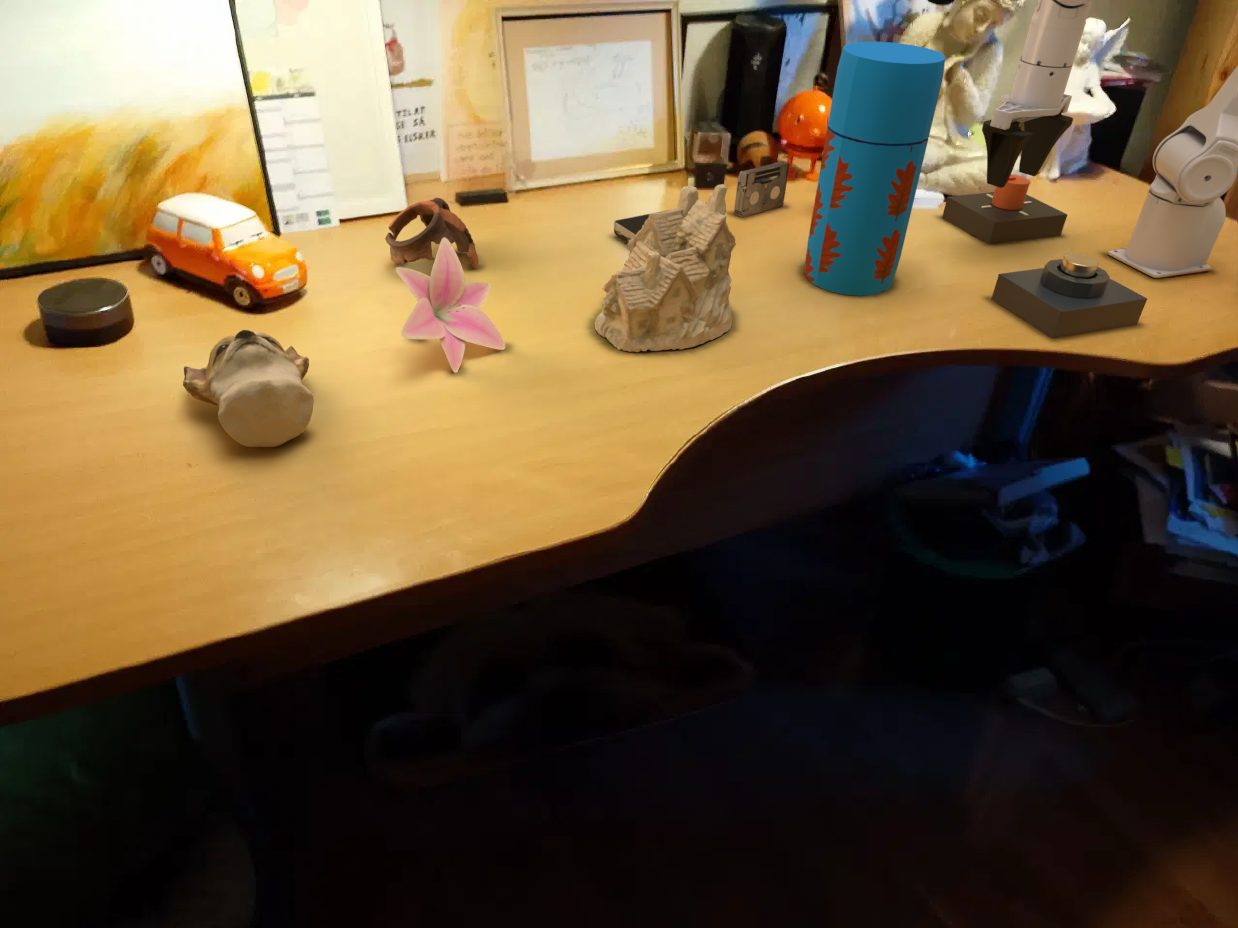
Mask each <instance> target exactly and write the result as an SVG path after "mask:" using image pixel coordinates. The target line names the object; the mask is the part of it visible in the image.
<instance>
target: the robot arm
mask: <svg viewBox="0 0 1238 928" xmlns="http://www.w3.org/2000/svg"><path fill="white" fill-rule="evenodd" d="M1094 1H1095V0H1037V2H1036V5H1035V8H1034V12H1033V14H1032V16H1031V19H1030V23H1029V27H1028V30H1027V34H1026V37H1025V41H1024V44H1023V48H1022V52H1021V55H1020V59H1019V63H1018V67H1017V70H1016V73H1015V77H1014V81H1013V84H1012V87H1011V92H1010V93H1005V94H1002V95H1001V96H1000V99H999V102H1000V103H1002V104H1001V105H1000V106H999V107H997V108H994V109H993V113H992V117H991V119H989V120H985V121H983V124H982V127H981V131H982V135H983V138H984V142H985V148H986V161H987V162H986V184H987V185H990V186H993V187H996V186H997V187H1000V188H1002V187H1004V186H1005V185H1006V183H1007V181H1008V180H1009V177H1010V175H1012V172H1013V170H1014V168H1015V165H1016V162H1017V161H1018V158H1019V156H1020V159H1019V165H1018V173H1020V174H1025V175H1028V176H1030V177H1031V176H1032V177H1036V176H1037V175H1038V173H1039V172H1040V171H1041V169H1042V167H1043V165H1044V163H1045V161H1046V160H1047V158H1048V157H1049V154H1050V153H1051V151H1052V150H1053V148H1054V146H1055V145H1056V143H1057V142H1058V141H1059V139H1060V138H1061V137H1062V136H1063V134H1064V133H1065V132H1066V131H1067V130H1068V129H1069V128H1070V127H1071V126H1072V124H1073V122H1074V118H1073V117H1072V116H1068V115H1066V114H1065V113H1068V110H1069V108H1070V104H1071V102H1072V97H1073V96H1072V95H1071V94H1067V93H1065V91H1066V88H1067V85H1068V82H1069V79H1070V76H1071V73H1072V69H1073V65H1074V62H1075V59H1076V56H1077V52H1078V50H1079V46H1080V44H1081V40H1082V37H1083V33H1084V30H1085V26H1086V24H1087V18H1088V15H1089V11H1090V8H1091V5H1092V3H1093V2H1094ZM1064 114H1065V115H1064ZM1021 123H1023V130H1022V127H1021V126H1020V124H1021ZM1152 167H1153V170H1154V172H1155V174H1156V175H1155V178H1154V179H1153V181H1152V182H1151V184H1150V186H1149V189H1148V191H1147V194H1146V196H1145V199H1144V202H1143V204H1142V207H1141V209H1140V212H1139V214H1138V217H1137V219H1136V222H1135V225H1134V228H1133V230H1132V232H1131V235H1130V237H1129V239H1128V243H1127V246H1126V248H1119V249H1111V250H1110V249H1109V250H1108V252H1107V255H1108V256H1110V257H1112V258H1114V259H1116V260H1118V261H1120V262H1121V263H1124V264H1126V265H1127V266H1129V267H1132V268H1133V269H1136V270H1137V271H1139V272H1142V273H1143V274H1146V275H1147V276H1149V277H1151V278H1154V279H1160V278H1167V277H1173V276H1174V277H1175V276H1180V275H1189V274H1195V273H1202V272H1208V271H1211V269H1212V266H1210V265H1209V264H1207V262H1208V260H1209V258H1210V255H1211V253H1212V251H1213V249H1214V246H1215V244H1216V242H1217V240H1218V237H1219V235H1220V233H1221V231H1222V228H1223V227H1224V224H1225V220H1226V216H1227V215H1226V214H1227V210H1226V205H1225V203H1224V201H1223V199H1222V198H1221V197H1222V196H1224V195H1225V194H1226V193H1227V192H1228V191H1229V190H1230V189H1231V187H1232V186H1233V184H1234V183H1235V181H1236V179H1237V175H1238V65H1236V67H1235V68H1234V70H1233V71H1232V72H1231V74H1230V75H1229V76H1228V78H1227V79H1226V80H1225V82H1224V83H1223V85H1222V86H1221V87H1220V88H1219V90H1218V91H1217V92H1216V94H1215V95H1214V97H1213V98H1212V99H1211V100H1210V102H1209V103H1208V104H1207V105H1206V106H1204V107H1202V108H1201V109H1199V110H1197V111H1195V112H1193V113H1192V114H1190V115H1189V116H1187V118H1186V120H1185V121H1184V122H1183V124H1182V125H1181V126H1179V128H1178V129H1176V130H1175V131H1173V132H1172V133H1170V134H1169V135H1167V136H1166V137H1164V138H1163V139H1162V141H1160V142H1159V144H1158V145H1157V147H1156V148H1155V150H1154V152H1153V155H1152Z"/></svg>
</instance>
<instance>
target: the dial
mask: <svg viewBox="0 0 1238 928" xmlns="http://www.w3.org/2000/svg"><path fill="white" fill-rule="evenodd" d="M1030 184H1031V181H1030V179H1028V178H1026V177H1024V176H1021V175H1018V174H1017V175H1016V174H1011V175H1010V177H1009V180H1008V181H1007V183H1006V185H1005V186H1004V187H1002V188H1000V187H997V186H995V188H994V191H993V192H994V195H993V199H992V204H993V205H994V206H996V207H998V208H1002V209H1007V210H1019V209H1021V208H1022V207H1023V204H1024V200H1025V197H1026V194H1027V193H1028V192H1029V191H1028V190H1029V188H1030ZM1027 195H1028V194H1027Z"/></svg>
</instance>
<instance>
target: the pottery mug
mask: <svg viewBox="0 0 1238 928" xmlns="http://www.w3.org/2000/svg"><path fill="white" fill-rule="evenodd" d="M418 216H419V219H420V222H421V223H423V224H424V226H425V228H424V229H423V230H422V231H421V232H419V233H418V234H416V235H414V236H413V237H410V238H408V239H405V240H397V239H398V236H399V234H400V233H401V232H402V230H403V229H404V228H406V226H408V224H410V223H411V222H412V221H414V220H416V219H418ZM388 230H389V231H390V232H387V235H385V238H384V240H385V242H386V243H387V245H388V246H389V255H390V260H391V261H392V262H394V264H396V265H400V264H401V265H406V264H408V263H414V262H417V261H419V260H424V259H425V260H428V261H432V262H433V261H434V262H435V259H434V256H433V249H432V243H434V244H435V245H440V242H441V240H442V238H444V237H445V238H447V239H448V240H449V242H450V243H451V245H452V244H454V243H455V246H456V251H457V252H458V253H461V254H462V253H465V254H467V258H468V259H469V260H470V262H471V263H470V264H471V266H472V268H473V269H474V270H476V269H477V268H478V266H479V261H480V260H479V255H478V253H477V249H476V244H475V242H474V240H473V237H472V234H471V233H470V231H469V228H467V225H466V224H465V223H464V221H462V219H461V218H460V217H459V216H458V215H457V214H456V213H454V212H452V211H451V209H450V206H449V204H448V203H447V202H446V201H445V200H444V199H442V198H441V197H433V199H430V200H422V201H418V202H415V203H413V204H411V205H409V206H407V207H406V208H404V209H403V210H401V211H400V212H399V213H398V214H397V215H396V216H395V217H394V218H393V219H392V220H391V222H390V223H389V226H388Z"/></svg>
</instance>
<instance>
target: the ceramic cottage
mask: <svg viewBox="0 0 1238 928" xmlns="http://www.w3.org/2000/svg"><path fill="white" fill-rule="evenodd" d="M727 191H728V187H727V185H725V184H724V183H722V184H717V185H715V187H714V188H713V192H711V193H709V194H708V197H707V200H706V201H705V202H703V201H702V200H700V198H699V191H698V188H697V187H695V186H694V185H691V184H690V185H685V186H682V188H681V190H680V193H679V196H678V197H679V198H678V201H677V206H676V207H675V208H672V209H673V210H671V209H667V210H668V211H666V210H664V211H665V212H661V211H658V212H659V213H656V212H652V213H653V214H651V213H649V214H650V215H649V217H648V219H647V220H646V221H645V223H644V225H642V229H641V230H640V231H638V233H637V234H636V236H635V237H633V238H632V239H631V240H630V241H629V242H628V243H627V242H626V243H627V249H628V251H629V253H628V255H627V256H628V257H627V260H625V262H624V264H623V267H622V268H621V270H618V271H616V272H615V273H614V274H613V275H611V277H610V278H609V280H608V281H607V282H605V284H604V285H603V286H602V288H601V289H602V290H603V291H604V292H605V297H604V298H603V304H602V311H601V312H599V315H596V318H595V323H594V330H596V332H597V333H598V335H600V336H602V337H603V338H606V339H607V341H608V342H609V343H611V344H612V345H613V347H615V348H617V350H618V351H624V352H627V351H628V353H630V352H635V353H639V352H641V351H642V352H647V350H650V351H651V352H653V351H654V352H658V351H659V352H660V351H663V350H664V351H667V350H674V351H675V350H676V349H678V350H684V349H689V348H693V347H696V346H699V345H703V344H705V343H706V342H709V341H713V340H714V339H715V340H716V339H717V338H719V337H721V336H723V334H724V333H725V334H726V333H728V331H731V328H732V324H733V319H732V317H733V316H732V309H731V302H730V293H731V290H732V287H731V283H732V281H733V279H732V277H731V275H730V272H729V269H730V264H731V258H732V252H733V250H734V248H735V247H736V244H737V242H736V237H735V236H734V234H733V233H732V232H731V230H730V229H729V226H728V223H727V215H726V213H727V204H726V195H727Z"/></svg>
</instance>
